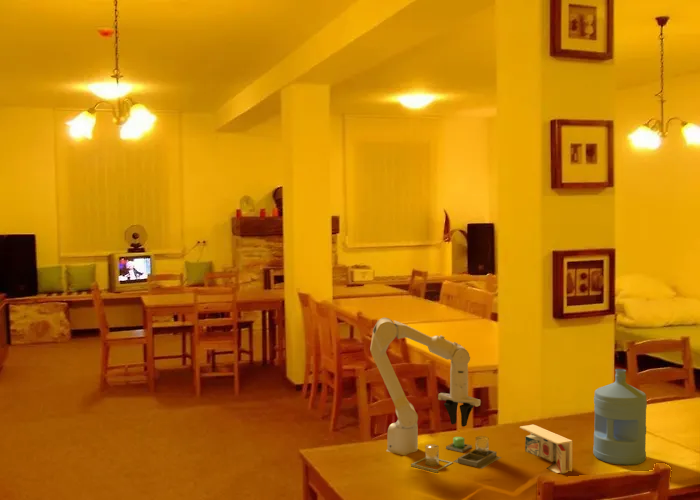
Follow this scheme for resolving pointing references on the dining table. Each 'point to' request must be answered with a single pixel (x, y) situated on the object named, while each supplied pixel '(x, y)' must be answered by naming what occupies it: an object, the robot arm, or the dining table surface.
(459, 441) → the button
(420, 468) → the tote tray
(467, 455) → the grey pocketed tray
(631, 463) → the water jug
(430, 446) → the cylinder
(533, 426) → the cigarette display
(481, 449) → the seated billet
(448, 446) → the button housing
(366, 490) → the dining table surface
